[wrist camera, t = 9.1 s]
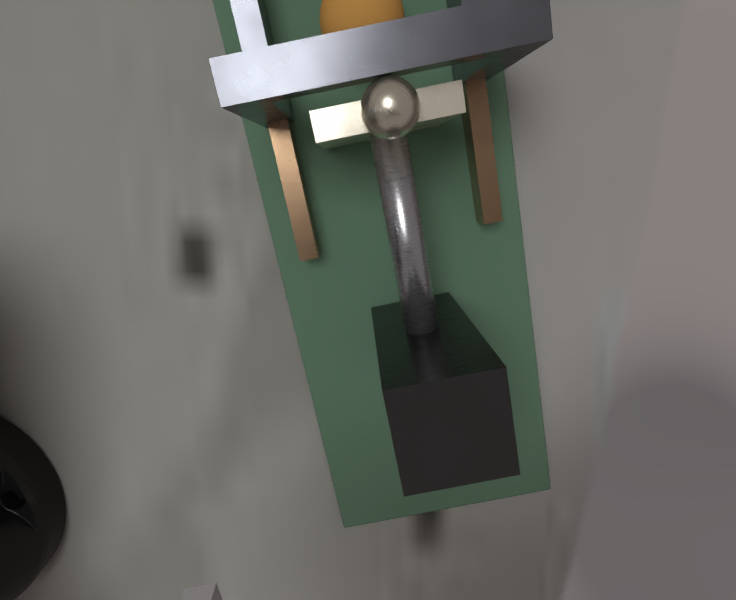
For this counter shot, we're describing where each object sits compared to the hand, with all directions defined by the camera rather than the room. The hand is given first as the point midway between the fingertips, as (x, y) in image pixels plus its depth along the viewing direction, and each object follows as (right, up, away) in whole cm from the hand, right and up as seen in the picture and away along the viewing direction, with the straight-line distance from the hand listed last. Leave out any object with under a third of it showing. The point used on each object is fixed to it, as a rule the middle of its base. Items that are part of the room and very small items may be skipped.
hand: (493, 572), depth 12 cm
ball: (-4, +21, +10) cm, 23 cm away
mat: (-1, +9, +17) cm, 19 cm away
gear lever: (-1, +10, +16) cm, 19 cm away
